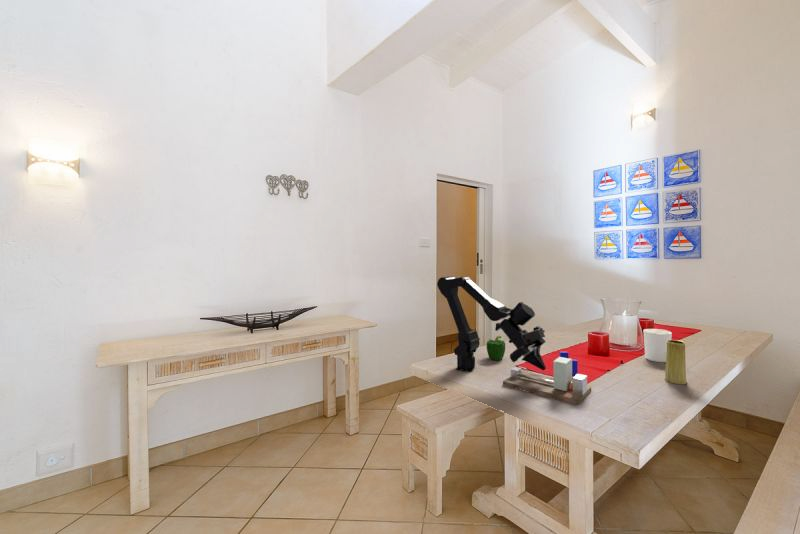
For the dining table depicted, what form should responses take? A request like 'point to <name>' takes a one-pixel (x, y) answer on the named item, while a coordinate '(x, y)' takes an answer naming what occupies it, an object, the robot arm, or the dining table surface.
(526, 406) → the dining table surface
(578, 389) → the rod with end blocks
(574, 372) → the blue stepped block
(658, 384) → the dining table surface
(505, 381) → the cord board
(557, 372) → the notched sage block
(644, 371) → the dining table surface
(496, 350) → the bell pepper
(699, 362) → the dining table surface
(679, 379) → the vase
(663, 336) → the white cylinder
